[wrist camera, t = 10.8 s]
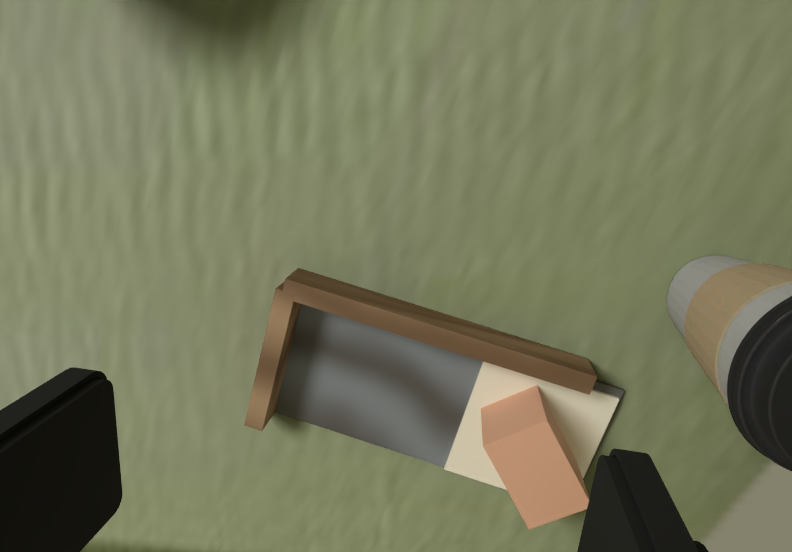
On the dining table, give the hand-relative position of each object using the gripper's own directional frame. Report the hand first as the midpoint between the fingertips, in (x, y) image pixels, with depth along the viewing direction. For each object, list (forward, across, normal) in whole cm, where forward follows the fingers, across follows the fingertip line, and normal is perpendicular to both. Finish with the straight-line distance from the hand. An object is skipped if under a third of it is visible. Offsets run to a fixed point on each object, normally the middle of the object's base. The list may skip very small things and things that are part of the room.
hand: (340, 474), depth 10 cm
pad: (+28, -8, +16) cm, 33 cm away
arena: (+28, -2, +14) cm, 31 cm away
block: (+28, -8, +16) cm, 33 cm away
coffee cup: (+29, -19, +4) cm, 35 cm away
